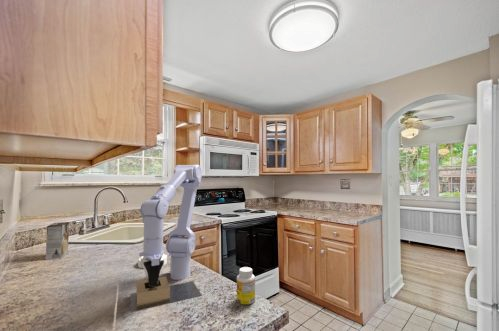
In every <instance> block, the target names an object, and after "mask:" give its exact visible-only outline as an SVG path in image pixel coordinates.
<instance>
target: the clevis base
mask: <svg viewBox="0 0 499 331" xmlns="http://www.w3.org/2000/svg"><path fill="white" fill-rule="evenodd" d="M158 282H159V286H157V287H152V288H149V287H148V282H147V279H145V280H138V281H135V283H136V285H135V292H133V293H132V292H131V293H130V313H134V312H139V311H143V310H146V309H147V310H148V309H152V308H157V307H159V306H163V305H169V304H173V303H177V302H181V301H185V300H189V299H190V300H191V299H194V298H199V297H203V295H202V293H201V291H200V290H199V289H198V287H197V285H196V284H195V282H194V281H193V280H192V281H187V282H182V283H178V284H173V285H170V284H169V281H168V279H167V276H166V275H165V276H161V277H160V276H159V279H158Z"/></svg>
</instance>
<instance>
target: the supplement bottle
mask: <svg viewBox="0 0 499 331" xmlns="http://www.w3.org/2000/svg"><path fill="white" fill-rule="evenodd" d="M238 273H239V274H237V276H236V302H237V303H238V304H239V305H241V306H250V305H253V304H254V303H256V276H255V275H254V274H253V268H251V267H248V266H243V267H240V268H239V271H238Z"/></svg>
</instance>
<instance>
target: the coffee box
mask: <svg viewBox="0 0 499 331" xmlns="http://www.w3.org/2000/svg"><path fill="white" fill-rule="evenodd" d="M69 229H70V221H65V222H63V221H60V222H53V223H51V224H49V225H47V226H46V244H45V245H46V246H45V247H46V248H45V260H46V261H49V260H50V261H52V260H59V259H62V258H64V257H65V256H66V255H67V254H69V235H70V234H69V231H70V230H69ZM51 259H52V260H51Z"/></svg>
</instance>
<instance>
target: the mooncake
mask: <svg viewBox="0 0 499 331" xmlns="http://www.w3.org/2000/svg"><path fill="white" fill-rule="evenodd" d="M142 258H143V256H142V257H140V256H139V258H138V259H137V266H138V267H137V268H140V269H144V265H143V264H141V259H142ZM161 260H164V264H163V266H165V265H166V264H168V255H167V254H165V253H163V255H162V258H161ZM161 260H160V261H161ZM144 270H145V269H144Z"/></svg>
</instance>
